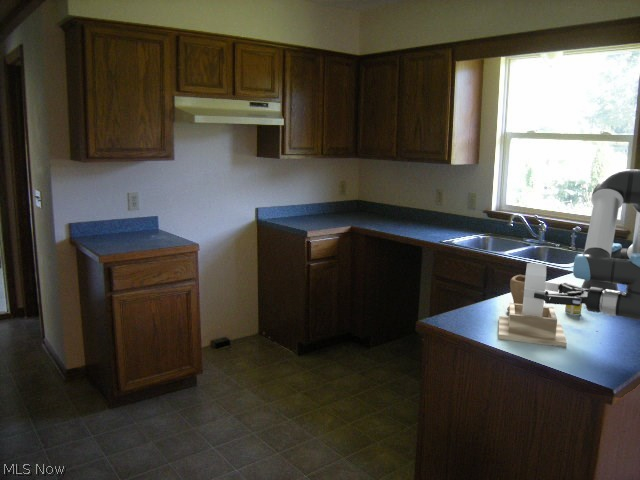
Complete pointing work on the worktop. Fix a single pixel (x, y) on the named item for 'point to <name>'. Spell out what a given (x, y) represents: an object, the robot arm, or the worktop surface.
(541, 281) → the milk
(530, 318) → the wooden stepped stand
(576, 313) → the supplement bottle
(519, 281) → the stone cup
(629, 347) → the worktop surface
